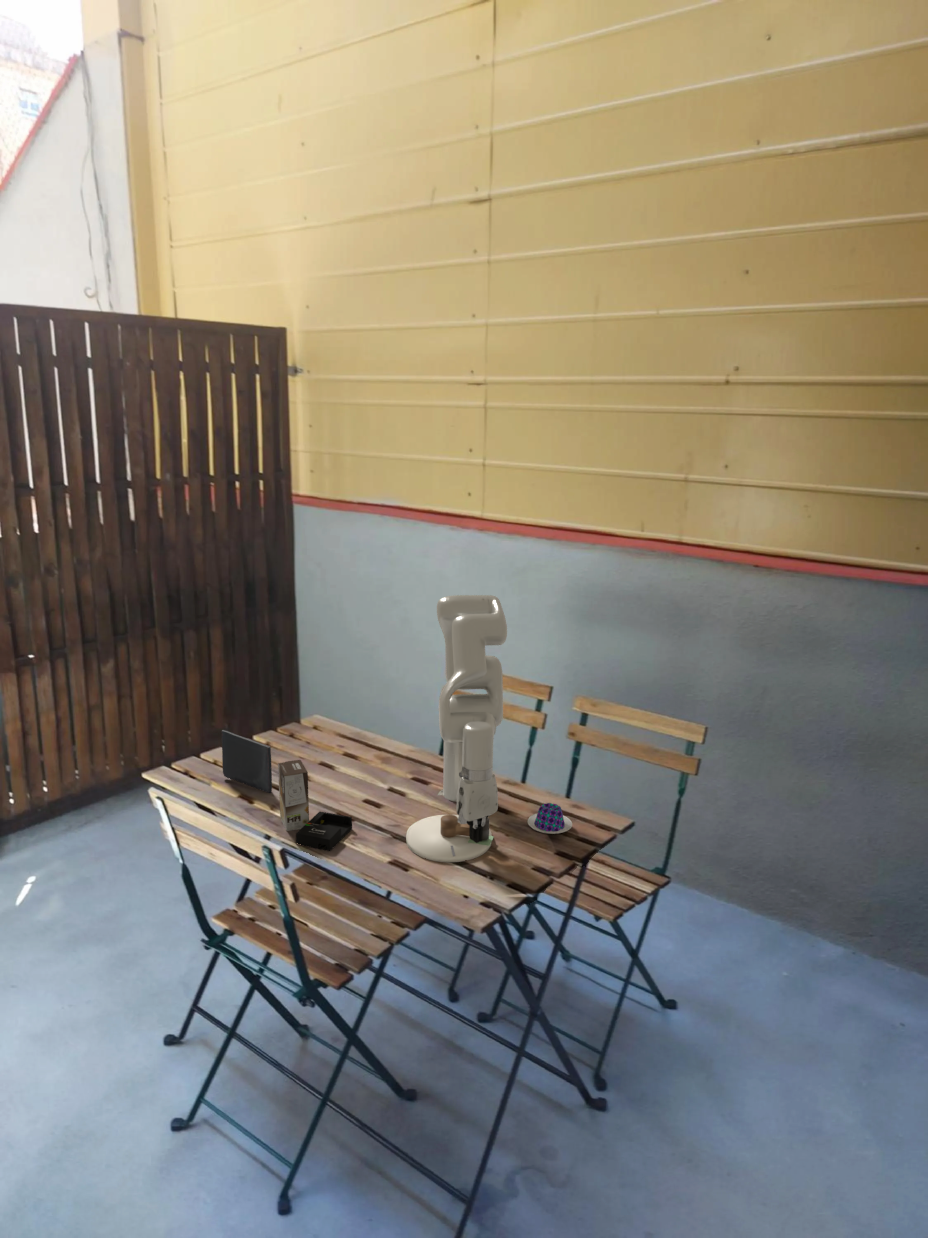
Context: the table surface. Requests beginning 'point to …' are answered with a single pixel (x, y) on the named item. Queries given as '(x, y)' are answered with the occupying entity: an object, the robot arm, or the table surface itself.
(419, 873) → the table surface
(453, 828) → the peg lever
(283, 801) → the coffee box
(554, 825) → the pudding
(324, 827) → the battery charger
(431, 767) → the table surface
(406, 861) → the table surface
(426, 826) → the dial plate
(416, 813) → the table surface
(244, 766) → the dark grey flat panel
